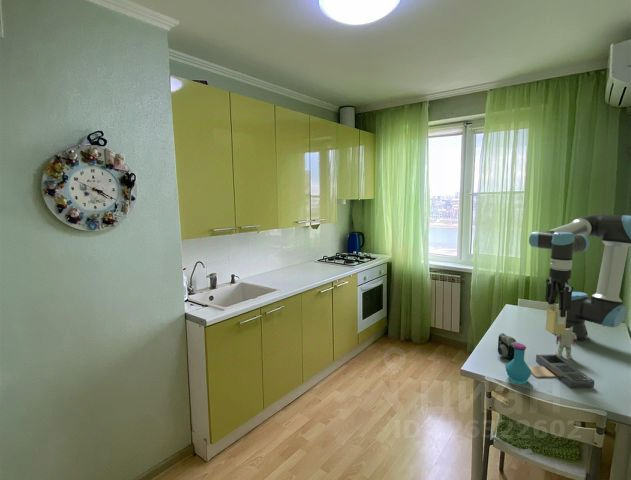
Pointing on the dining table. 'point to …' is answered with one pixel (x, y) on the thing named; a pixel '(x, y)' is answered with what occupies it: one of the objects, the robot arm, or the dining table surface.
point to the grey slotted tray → (565, 371)
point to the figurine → (566, 342)
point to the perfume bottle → (518, 366)
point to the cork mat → (541, 372)
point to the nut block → (554, 322)
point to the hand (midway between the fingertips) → (555, 321)
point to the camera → (506, 346)
